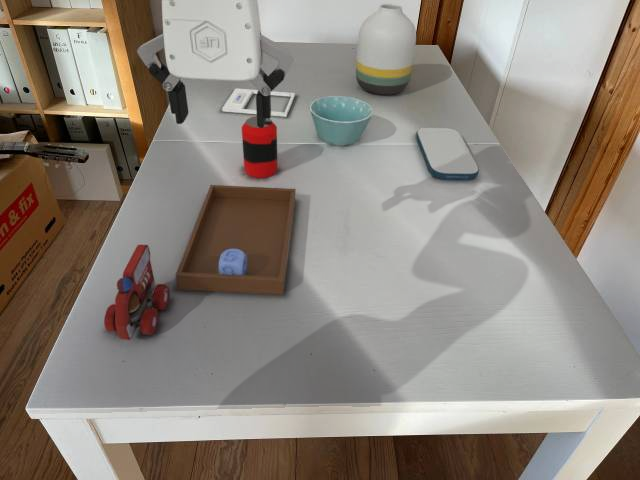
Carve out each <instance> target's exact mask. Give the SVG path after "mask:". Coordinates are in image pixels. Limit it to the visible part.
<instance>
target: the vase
mask: <svg viewBox="0 0 640 480" xmlns="http://www.w3.org/2000/svg"><path fill="white" fill-rule="evenodd" d="M416 43H417V31H416V27H415V25H414V23H413V22H412V20H411V19H410V18H409V17H408V16H407V15H406V14H405V13H404V12H403V7H402V5H400V4H396V3H381V4H380V5H379V6H378V9H377V10H376V11H375V12H374V13H372V14H370V15H369V16H368V17H366V18H365V20H364V21H363V22H362V23H361V26H360V28H359V31H358V36H357V49H356V60H355V61H356V62H355V63H356V64H355V78H356V82H357V84H358V86H359V87H360V88H361V89H362V90H363V91H366V92H368V93H371V94H375V95H382V96H383V95H387V96H388V95H389V96H390V95H395V94H399V93H401V92H402V91H404V90H405V89H406V88H407V86H408V84H409V82H410V79H411V76H412V70H413V64H414V58H415V57H414V56H415V50H416V45H417V44H416Z"/></svg>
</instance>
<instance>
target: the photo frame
mask: <svg viewBox="0 0 640 480" xmlns="http://www.w3.org/2000/svg"><path fill="white" fill-rule="evenodd" d="M257 92H258V89H251V88H250V89H249V88H236V87H235V88H234V90H233V91H232V93H231V94H230V96H229V97H228V98H227V100H226V102H225V103H224V105H223V106H222V108H221V109H222V110H221V111H222V112H227V113H237V114H249V115H257V109H248V108H245V107H246V106H247V104H248V103H249V101H250V99H251V98H252V97H253V94H255V95H257ZM271 96H278V97H288V98H289V100H288V102H287V105H286V108H285V110H284V112H283V111H273V110H271V116H272V117H283V118H286V117H287V116H288V114H289V112H290V109H291V107H292V105H293V103H294V100H295V97H296V93H295V92H283V91H274V90H272V91H271Z"/></svg>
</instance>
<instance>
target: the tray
mask: <svg viewBox="0 0 640 480" xmlns="http://www.w3.org/2000/svg"><path fill="white" fill-rule="evenodd" d="M203 200H204V201H203V204H202V206H201V209H200V211H199V214H198V216H197V218H196V221H195V224H194V225H193V226H194V227H193V229H192V232H191V234H190V237H189V239H188V242H187V245H186V247H185V250H184V252H183V255H182V258H181V260H180V263H179V265H178V268H177V270H176V273H175V280H176V284H177V289H178V291H179V290H181V291H182V290H183V291H200V292H223V293H240V294H241V293H242V294H259V295H260V294H261V295H280V296H281V295H282V296H283V295H284V292H285V287H286V286H285V285H286V279H287V272H288V271H287V270H288V263H289V256H290V247H291V239H292V232H293V224H294V216H295V208H296V188H286V187H285V188H284V187H263V186H244V185H243V186H241V185H240V186H239V185H223V184H222V185H221V184H210V185H209V188H208V191H207V193H206V195H205V198H204V199H203ZM228 249H239V250H241V251H243V252H244V253H245V254H246V255H247V270H246V274H245V275H227V274H219V260H220V256H221V254H222V253H223V252H224V251H226V250H228Z"/></svg>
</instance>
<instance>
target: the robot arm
mask: <svg viewBox="0 0 640 480" xmlns="http://www.w3.org/2000/svg"><path fill="white" fill-rule="evenodd" d="M258 3H259V2H258V0H161V16H162V18H161V19H162V34H160V35H157V36H156V37H154V38H152V39H150V40H149V41H147V42H145V43H143V44H141V45H140V46H139V47H138V48H137V49H136V53H137V55H138V57H139V59H141V61H142V62H143V64H144V66H145V67H147V69H148V73H149V74H150V76H152V77H153V78H154V79H155V80H157V81H158V82H159V84H161V85H162V88H163V90H165V91H167V96H168V102H169V106H170V112H171V114H172V115H175V116H174V117H175V122H176V124H177V125H181V124H183V123H184V122H185V121H186V119H187V118H188V116H189V106H188V98H187V97H188V96H187V90H186V85H185V84H184V82H183V81H182V80H192V81H206V82H207V81H208V82H210V81H211V82H229V83H230V82H232V83H233V82H234V83H246V82H251V84H252V85H253V86H254V87H255V88H256V90H258V92H257V94H255V106H256V107H255V108H256V109H255V110H257V114H256V116H257V126H258V127H259V128H264V124H265V121H266V118H270V119H271V111H272V101H271V100H272V99H271V98H272V97H271V96H272V95H271V91H274V90H275V88H277V87H278V86H279V85H280V84H281V83H282V82H283V81H284V80H285V77H286V76H287V73H288V72H289V70H290V68H291V66H292V64H293V62H294V59H295V54H294V52H293V51H291V50H289V49H287V48H285V47H284V46H282V45H280V44H279V43H277V42H275V41H274V40H272V39H270V38H268V37H267V36H265V35H263V34H262V28H261V19H260V10H259V4H258ZM162 50H164V56H165V62H166V63H165V64H166V65H165V64H164V63H163V62H161V61H160V60H159V59H158V56H157V53H158V52H161V51H162ZM264 54H265V55H268V56H269V57H271V58H273V59H275V60H276V61H277V63H278V64H277V66H276V68H275V69H273V71H272V72H271V73H270V74H269V73H268V72H267V71H266V70H265V69H264V68H263V67H262V64H263V59H264ZM181 79H182V80H181Z"/></svg>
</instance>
